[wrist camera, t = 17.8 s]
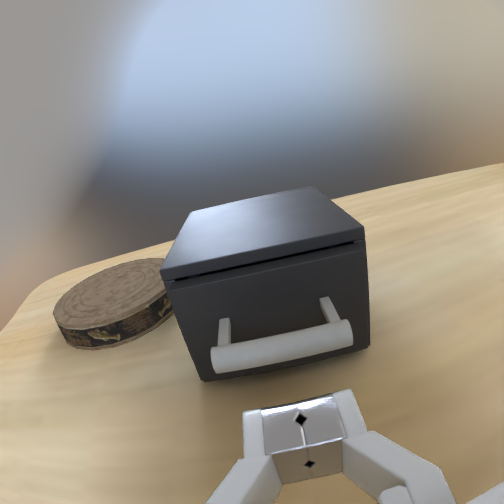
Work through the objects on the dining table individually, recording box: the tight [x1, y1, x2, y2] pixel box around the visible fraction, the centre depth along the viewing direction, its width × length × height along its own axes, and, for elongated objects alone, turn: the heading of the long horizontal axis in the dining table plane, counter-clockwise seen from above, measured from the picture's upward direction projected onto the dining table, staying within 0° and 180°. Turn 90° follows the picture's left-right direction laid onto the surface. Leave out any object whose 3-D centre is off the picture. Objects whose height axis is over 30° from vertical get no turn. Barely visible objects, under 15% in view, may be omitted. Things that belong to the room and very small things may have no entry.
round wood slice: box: [53, 258, 174, 350], centre depth 35 cm, size 16×16×3 cm
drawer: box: [169, 243, 368, 382], centre depth 24 cm, size 18×11×7 cm, turn 2°
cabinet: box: [159, 186, 370, 380], centre depth 27 cm, size 15×13×9 cm
